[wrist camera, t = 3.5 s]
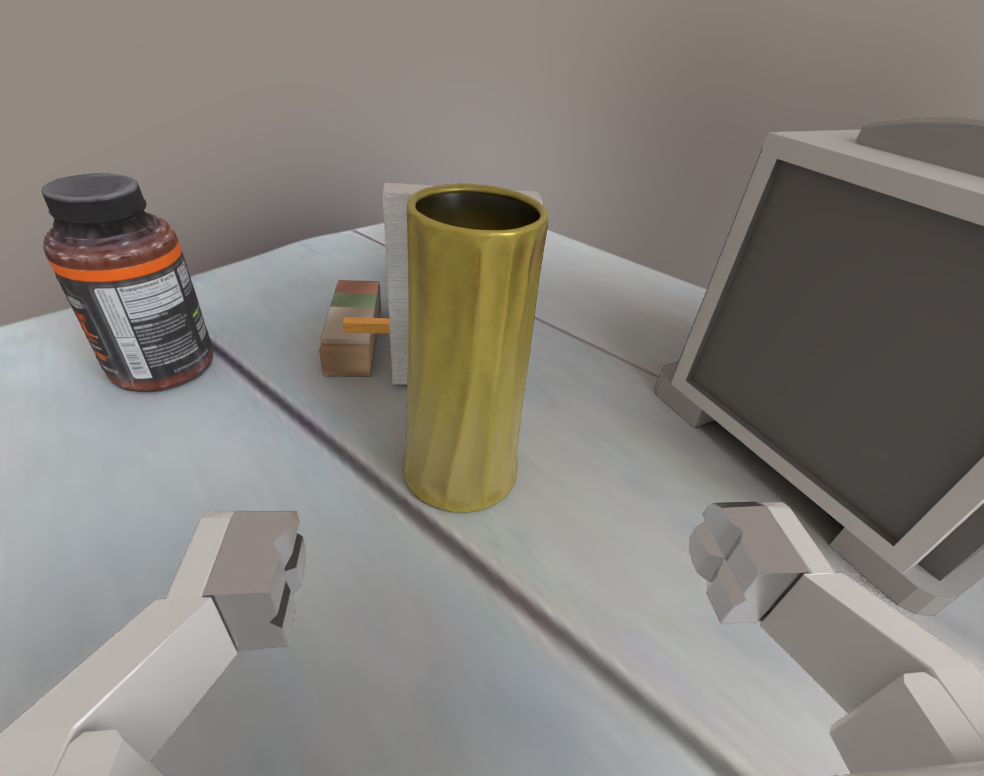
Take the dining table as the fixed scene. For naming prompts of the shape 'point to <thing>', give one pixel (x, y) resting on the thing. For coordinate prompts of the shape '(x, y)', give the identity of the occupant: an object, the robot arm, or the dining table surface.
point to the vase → (468, 339)
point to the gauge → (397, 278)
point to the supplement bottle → (125, 282)
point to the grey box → (859, 343)
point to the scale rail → (350, 349)
